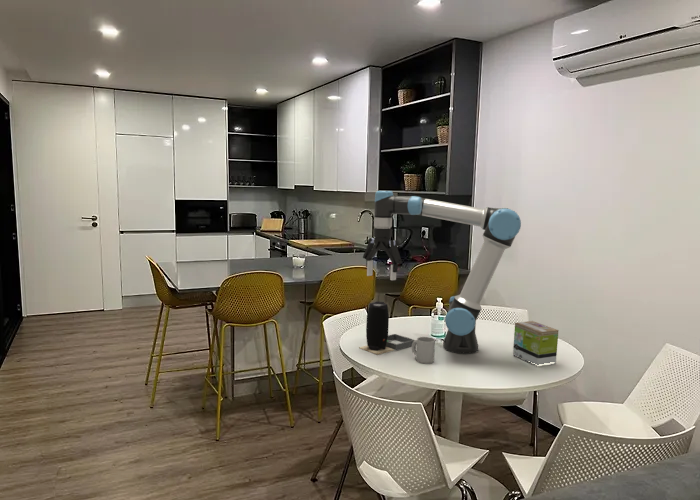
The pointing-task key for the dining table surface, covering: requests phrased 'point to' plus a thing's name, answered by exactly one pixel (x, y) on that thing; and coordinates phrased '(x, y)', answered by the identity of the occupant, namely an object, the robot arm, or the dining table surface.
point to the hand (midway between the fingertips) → (381, 277)
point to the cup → (424, 349)
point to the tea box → (535, 342)
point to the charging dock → (406, 343)
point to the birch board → (376, 351)
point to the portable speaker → (377, 325)
